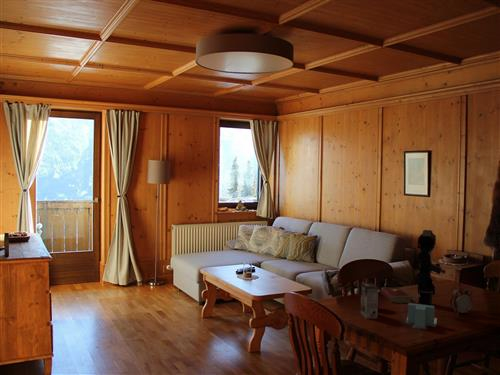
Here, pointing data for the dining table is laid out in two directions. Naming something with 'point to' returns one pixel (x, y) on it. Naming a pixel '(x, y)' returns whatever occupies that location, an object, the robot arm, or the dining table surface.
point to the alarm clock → (461, 300)
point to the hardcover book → (396, 295)
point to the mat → (425, 325)
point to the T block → (421, 315)
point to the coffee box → (369, 300)
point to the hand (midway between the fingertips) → (424, 287)
